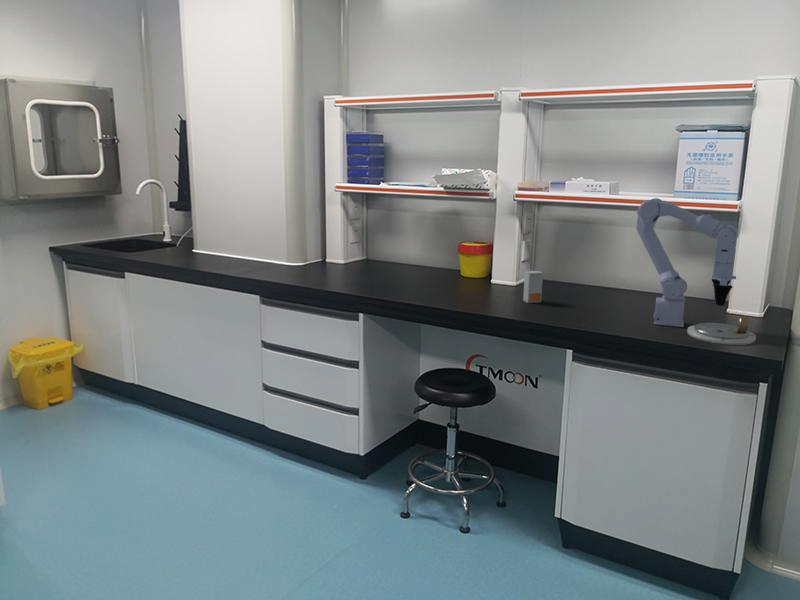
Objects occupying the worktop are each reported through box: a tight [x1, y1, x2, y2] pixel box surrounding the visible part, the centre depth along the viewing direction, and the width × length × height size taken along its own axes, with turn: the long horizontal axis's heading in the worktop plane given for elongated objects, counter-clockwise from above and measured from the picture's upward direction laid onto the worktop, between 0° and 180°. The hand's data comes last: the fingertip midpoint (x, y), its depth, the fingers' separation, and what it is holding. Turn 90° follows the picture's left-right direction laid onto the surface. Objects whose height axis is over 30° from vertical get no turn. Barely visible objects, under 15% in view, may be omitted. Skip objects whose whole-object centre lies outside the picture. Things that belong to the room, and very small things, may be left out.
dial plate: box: [686, 324, 757, 346], centre depth 209 cm, size 20×20×1 cm
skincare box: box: [522, 270, 544, 304], centre depth 254 cm, size 6×4×12 cm
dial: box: [694, 315, 750, 339], centre depth 208 cm, size 16×16×6 cm
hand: (719, 302), depth 214 cm, fingers open, 7 cm apart
